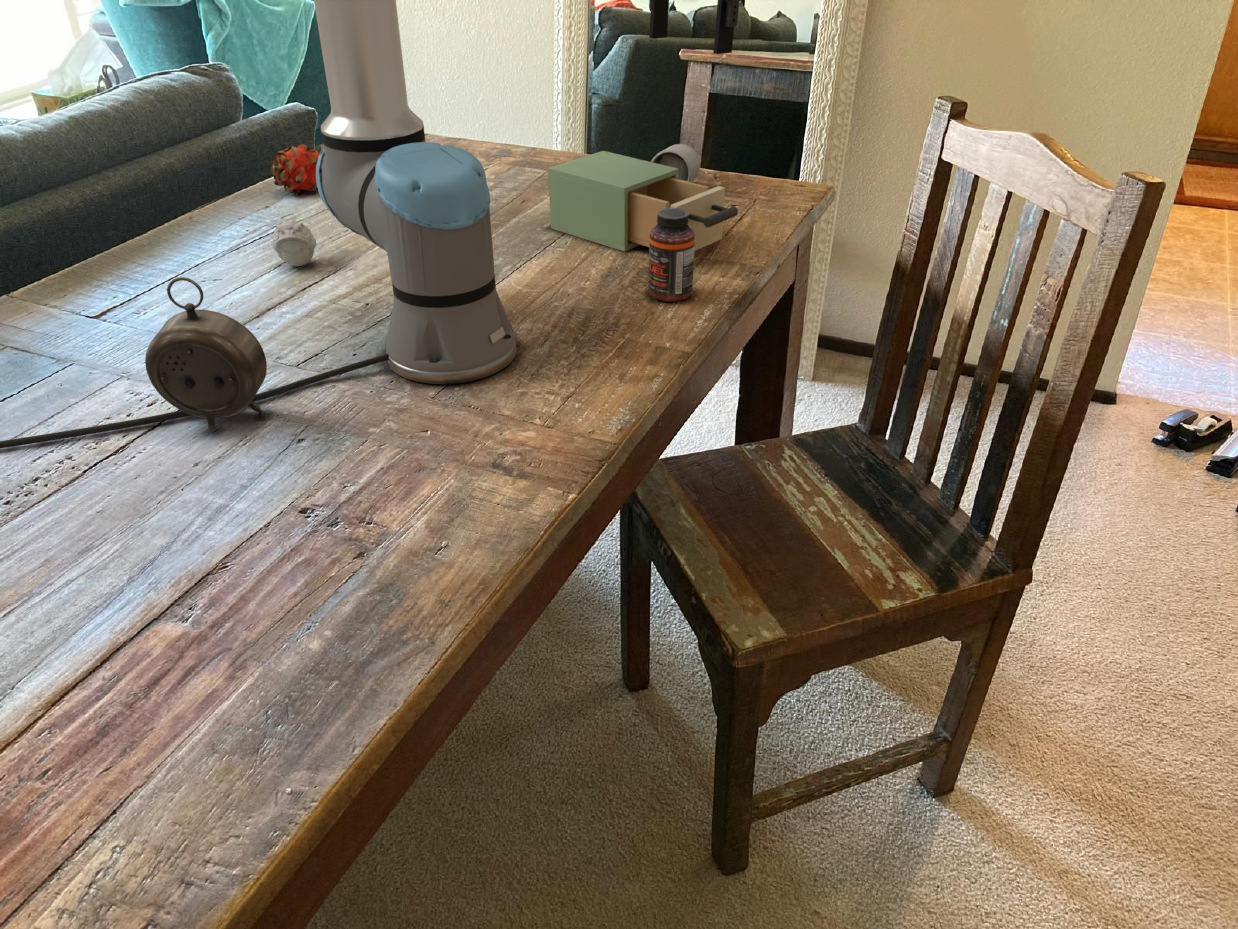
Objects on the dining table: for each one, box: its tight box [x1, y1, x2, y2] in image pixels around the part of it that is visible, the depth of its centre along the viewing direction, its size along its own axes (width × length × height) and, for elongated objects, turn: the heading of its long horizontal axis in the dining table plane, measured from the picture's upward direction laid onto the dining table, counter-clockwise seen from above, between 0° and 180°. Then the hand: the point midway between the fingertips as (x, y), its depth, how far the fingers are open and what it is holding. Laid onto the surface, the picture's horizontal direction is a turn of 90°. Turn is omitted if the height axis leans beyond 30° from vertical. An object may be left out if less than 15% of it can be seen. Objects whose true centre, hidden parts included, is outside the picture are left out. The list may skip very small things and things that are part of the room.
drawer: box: [628, 177, 739, 252], centre depth 138 cm, size 19×11×8 cm, turn 49°
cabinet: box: [547, 150, 679, 252], centre depth 144 cm, size 16×13×10 cm
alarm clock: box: [144, 276, 268, 433], centre depth 94 cm, size 11×5×16 cm, turn 90°
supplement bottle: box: [648, 208, 695, 303], centre depth 122 cm, size 6×6×11 cm
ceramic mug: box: [650, 143, 701, 183], centre depth 162 cm, size 11×8×8 cm
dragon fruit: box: [269, 143, 321, 195], centre depth 163 cm, size 8×8×12 cm
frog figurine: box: [271, 218, 317, 267], centre depth 133 cm, size 6×7×7 cm
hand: (689, 45), depth 129 cm, fingers open, 13 cm apart
